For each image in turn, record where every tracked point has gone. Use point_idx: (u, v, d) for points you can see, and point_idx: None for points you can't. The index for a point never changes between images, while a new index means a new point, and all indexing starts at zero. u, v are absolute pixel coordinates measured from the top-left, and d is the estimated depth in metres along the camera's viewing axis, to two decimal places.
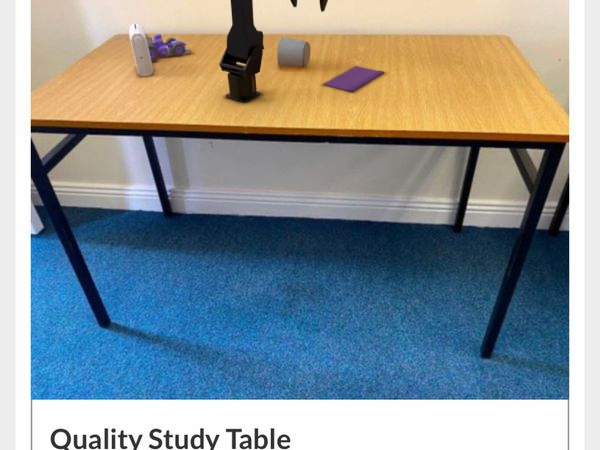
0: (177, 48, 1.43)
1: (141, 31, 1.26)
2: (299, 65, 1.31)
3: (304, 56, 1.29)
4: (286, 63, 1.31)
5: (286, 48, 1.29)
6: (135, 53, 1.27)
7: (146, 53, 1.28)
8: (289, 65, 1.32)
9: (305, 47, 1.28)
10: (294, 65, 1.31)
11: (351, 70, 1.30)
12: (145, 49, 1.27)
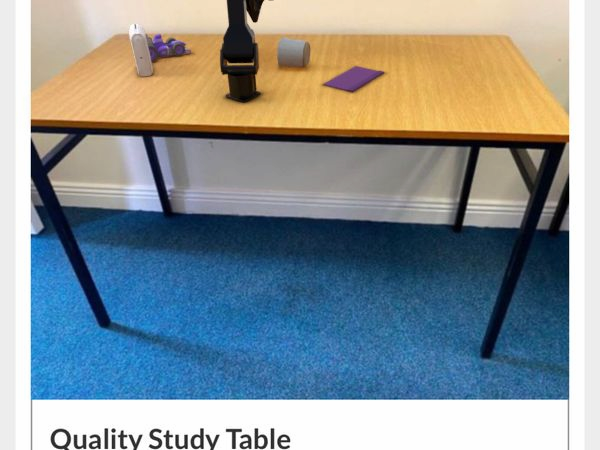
0: (177, 48, 1.43)
1: (141, 31, 1.26)
2: (299, 65, 1.31)
3: (304, 56, 1.29)
4: (286, 63, 1.31)
5: (286, 48, 1.29)
6: (135, 53, 1.27)
7: (146, 53, 1.28)
8: (289, 65, 1.32)
9: (305, 47, 1.28)
10: (294, 65, 1.31)
11: (351, 70, 1.30)
12: (145, 49, 1.27)
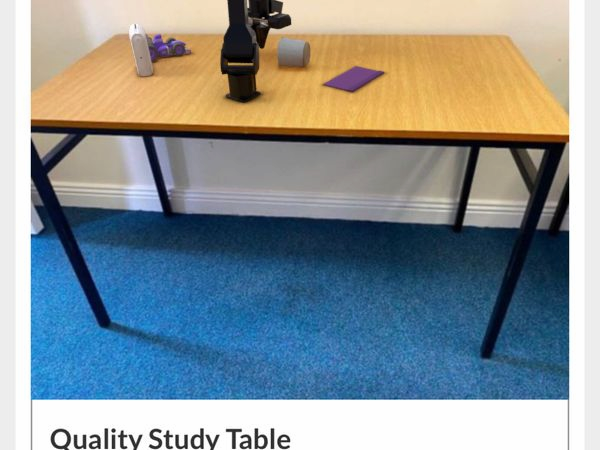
0: (177, 48, 1.43)
1: (141, 31, 1.26)
2: (299, 65, 1.31)
3: (304, 56, 1.29)
4: (286, 63, 1.31)
5: (286, 48, 1.29)
6: (135, 53, 1.27)
7: (146, 53, 1.28)
8: (289, 65, 1.32)
9: (305, 47, 1.28)
10: (294, 65, 1.31)
11: (351, 70, 1.30)
12: (145, 49, 1.27)
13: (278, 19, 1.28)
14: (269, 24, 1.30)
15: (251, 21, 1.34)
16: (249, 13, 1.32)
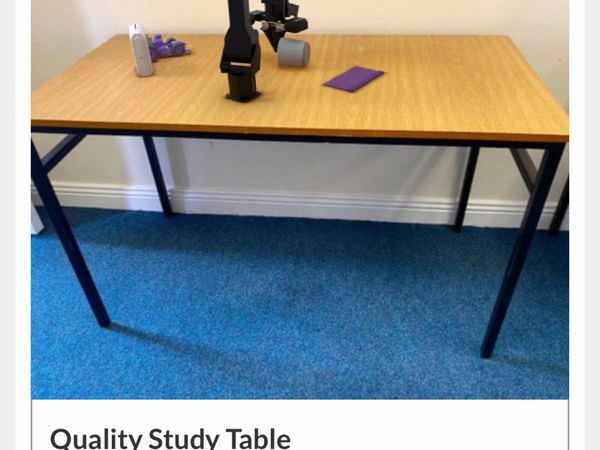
0: (177, 48, 1.43)
1: (141, 31, 1.26)
2: (299, 65, 1.31)
3: (304, 56, 1.29)
4: (286, 63, 1.31)
5: (286, 48, 1.29)
6: (135, 53, 1.27)
7: (146, 53, 1.28)
8: (289, 65, 1.32)
9: (305, 47, 1.28)
10: (294, 65, 1.31)
11: (351, 70, 1.30)
12: (145, 49, 1.27)
13: (295, 23, 1.25)
14: (286, 28, 1.27)
15: (267, 25, 1.32)
16: (265, 17, 1.30)
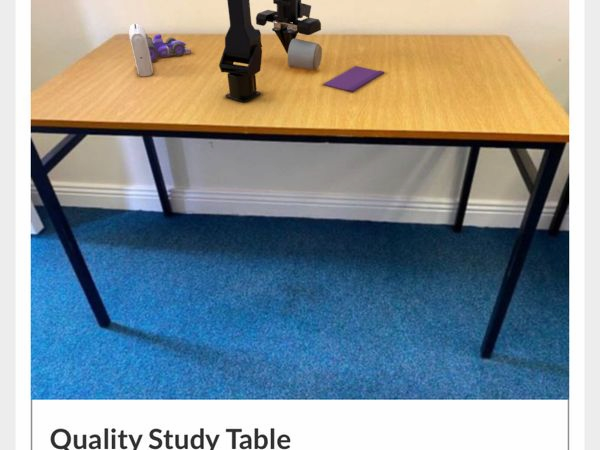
0: (177, 48, 1.43)
1: (141, 31, 1.26)
2: (309, 67, 1.29)
3: (315, 59, 1.27)
4: (296, 65, 1.29)
5: (297, 50, 1.27)
6: (135, 53, 1.27)
7: (146, 53, 1.28)
8: (299, 67, 1.30)
9: (316, 50, 1.26)
10: (304, 67, 1.29)
11: (351, 70, 1.30)
12: (145, 49, 1.27)
13: (308, 24, 1.23)
14: (298, 29, 1.25)
15: (279, 26, 1.30)
16: (277, 17, 1.28)
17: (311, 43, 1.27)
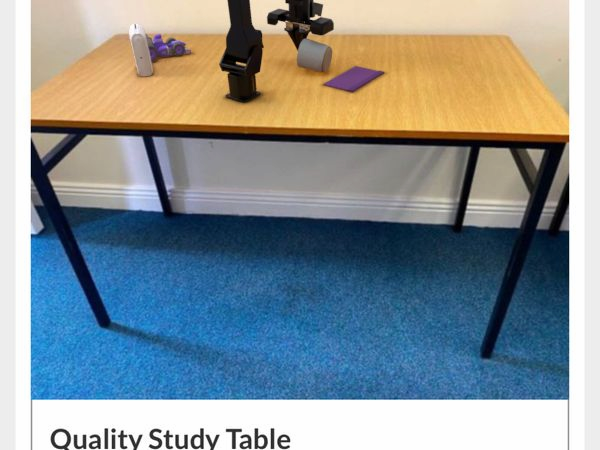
0: (177, 48, 1.43)
1: (141, 31, 1.26)
2: (318, 69, 1.27)
3: (324, 61, 1.25)
4: (304, 65, 1.28)
5: (307, 50, 1.25)
6: (135, 53, 1.27)
7: (146, 53, 1.28)
8: (308, 68, 1.29)
9: (326, 52, 1.25)
10: (313, 69, 1.28)
11: (351, 70, 1.30)
12: (145, 49, 1.27)
13: (321, 25, 1.21)
14: (311, 30, 1.23)
15: (291, 25, 1.28)
16: (289, 17, 1.26)
17: (322, 45, 1.26)
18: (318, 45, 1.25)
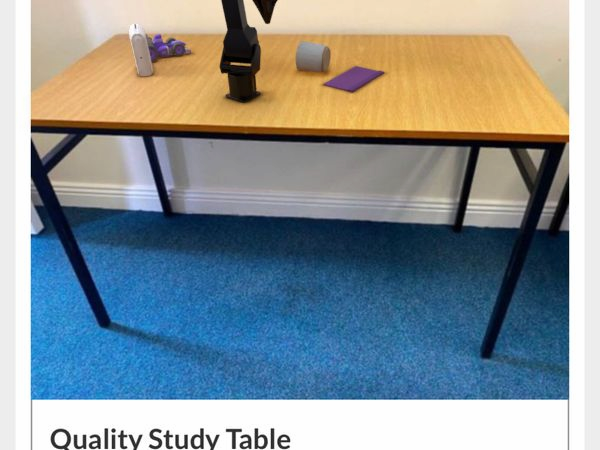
0: (177, 48, 1.43)
1: (141, 31, 1.26)
2: (318, 70, 1.27)
3: (323, 61, 1.25)
4: (304, 68, 1.28)
5: (305, 52, 1.26)
6: (135, 53, 1.27)
7: (146, 53, 1.28)
8: (308, 70, 1.29)
9: (324, 52, 1.25)
10: (313, 70, 1.28)
11: (351, 70, 1.30)
12: (145, 49, 1.27)
13: None
14: None
15: None
16: None
17: (319, 45, 1.26)
18: (315, 46, 1.26)
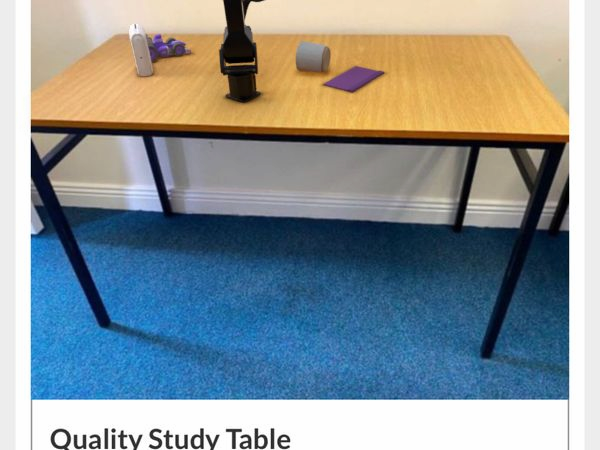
0: (177, 48, 1.43)
1: (141, 31, 1.26)
2: (318, 70, 1.27)
3: (323, 61, 1.25)
4: (304, 68, 1.28)
5: (305, 52, 1.26)
6: (135, 53, 1.27)
7: (146, 53, 1.28)
8: (308, 70, 1.29)
9: (324, 52, 1.25)
10: (313, 70, 1.28)
11: (351, 70, 1.30)
12: (145, 49, 1.27)
13: None
14: None
15: None
16: None
17: (319, 45, 1.26)
18: (315, 46, 1.26)
